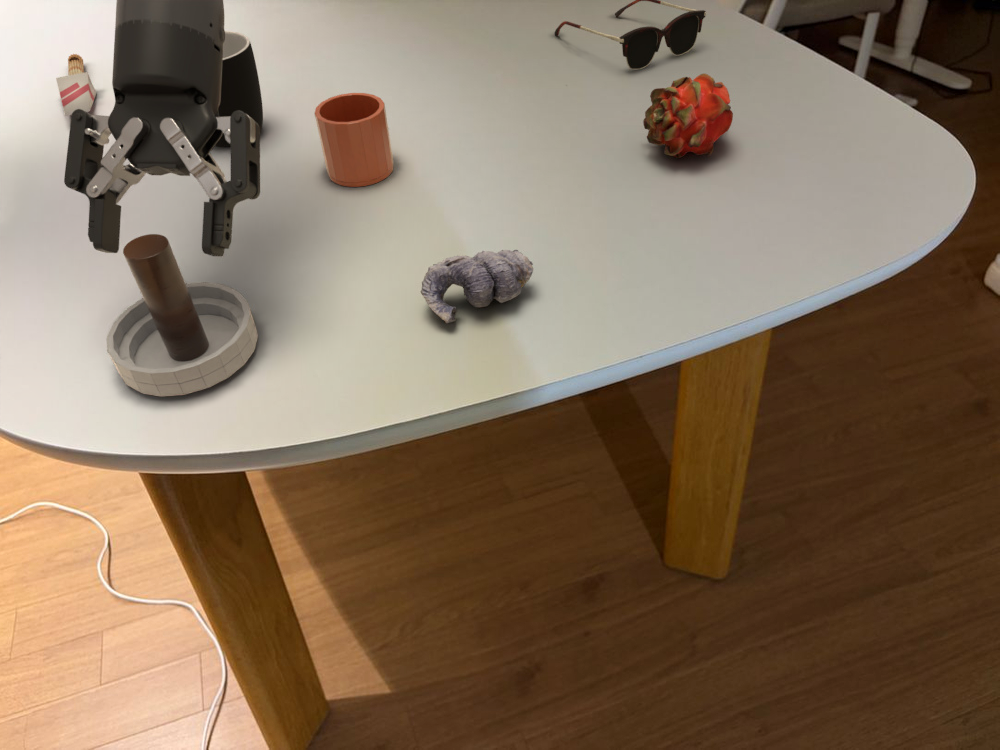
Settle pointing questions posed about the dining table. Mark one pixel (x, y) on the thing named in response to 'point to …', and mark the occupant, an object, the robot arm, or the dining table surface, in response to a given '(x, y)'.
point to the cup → (355, 139)
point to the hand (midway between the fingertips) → (159, 253)
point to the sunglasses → (655, 36)
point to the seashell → (476, 279)
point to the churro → (76, 87)
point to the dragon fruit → (688, 115)
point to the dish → (160, 375)
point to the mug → (239, 81)
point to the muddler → (166, 296)
